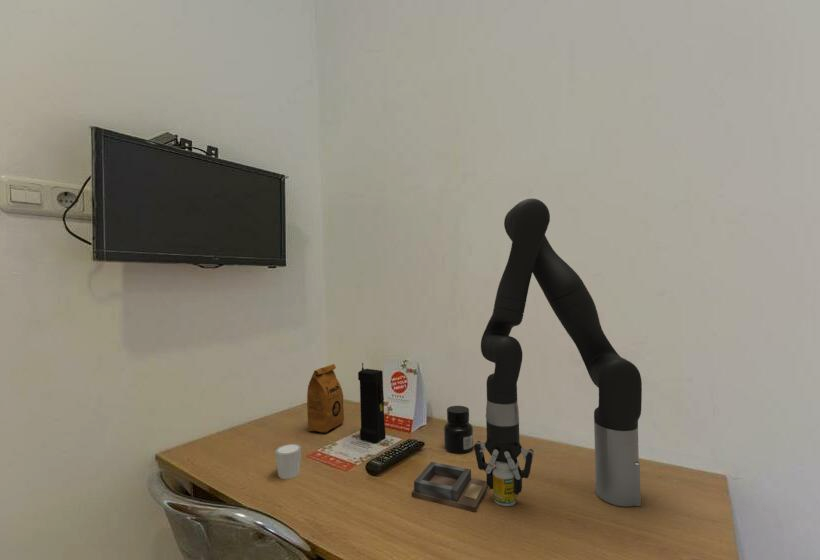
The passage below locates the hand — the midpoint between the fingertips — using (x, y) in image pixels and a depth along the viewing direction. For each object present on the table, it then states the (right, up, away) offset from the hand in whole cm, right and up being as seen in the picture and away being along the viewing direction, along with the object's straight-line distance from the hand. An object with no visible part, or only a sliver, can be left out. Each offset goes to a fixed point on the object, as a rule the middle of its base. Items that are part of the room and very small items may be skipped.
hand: (504, 490), depth 93 cm
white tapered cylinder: (-56, -4, +16) cm, 58 cm away
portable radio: (-34, -3, +37) cm, 51 cm away
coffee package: (-52, -4, +48) cm, 71 cm away
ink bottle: (-7, -3, +29) cm, 30 cm away
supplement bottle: (0, -3, 0) cm, 3 cm away
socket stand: (-12, -3, +5) cm, 13 cm away
